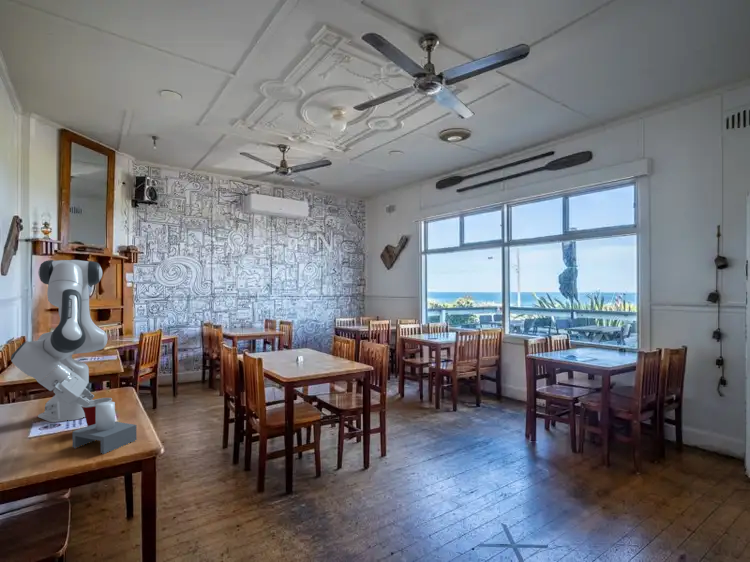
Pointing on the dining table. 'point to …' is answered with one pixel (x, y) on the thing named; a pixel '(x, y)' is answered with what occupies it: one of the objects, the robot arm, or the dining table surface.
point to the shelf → (106, 436)
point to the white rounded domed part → (105, 416)
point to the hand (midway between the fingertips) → (90, 401)
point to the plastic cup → (93, 410)
